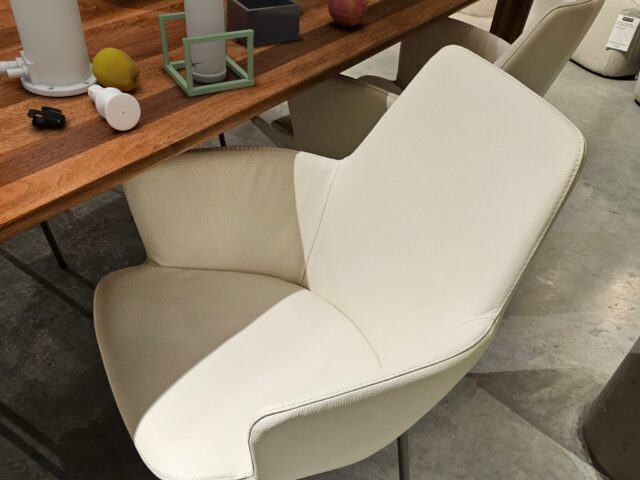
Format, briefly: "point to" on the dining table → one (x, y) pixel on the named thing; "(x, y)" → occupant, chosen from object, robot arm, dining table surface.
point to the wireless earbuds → (46, 117)
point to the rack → (171, 66)
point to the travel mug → (209, 56)
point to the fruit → (347, 11)
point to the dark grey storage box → (265, 20)
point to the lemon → (115, 69)
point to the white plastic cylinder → (115, 107)
